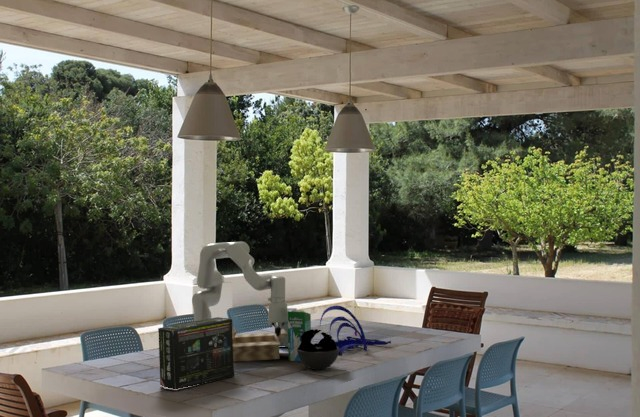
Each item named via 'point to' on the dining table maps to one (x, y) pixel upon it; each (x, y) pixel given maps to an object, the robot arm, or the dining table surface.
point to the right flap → (282, 334)
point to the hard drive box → (285, 340)
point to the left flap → (233, 332)
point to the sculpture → (350, 342)
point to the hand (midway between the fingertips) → (277, 335)
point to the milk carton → (297, 331)
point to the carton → (255, 347)
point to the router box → (196, 352)
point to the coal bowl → (317, 350)
